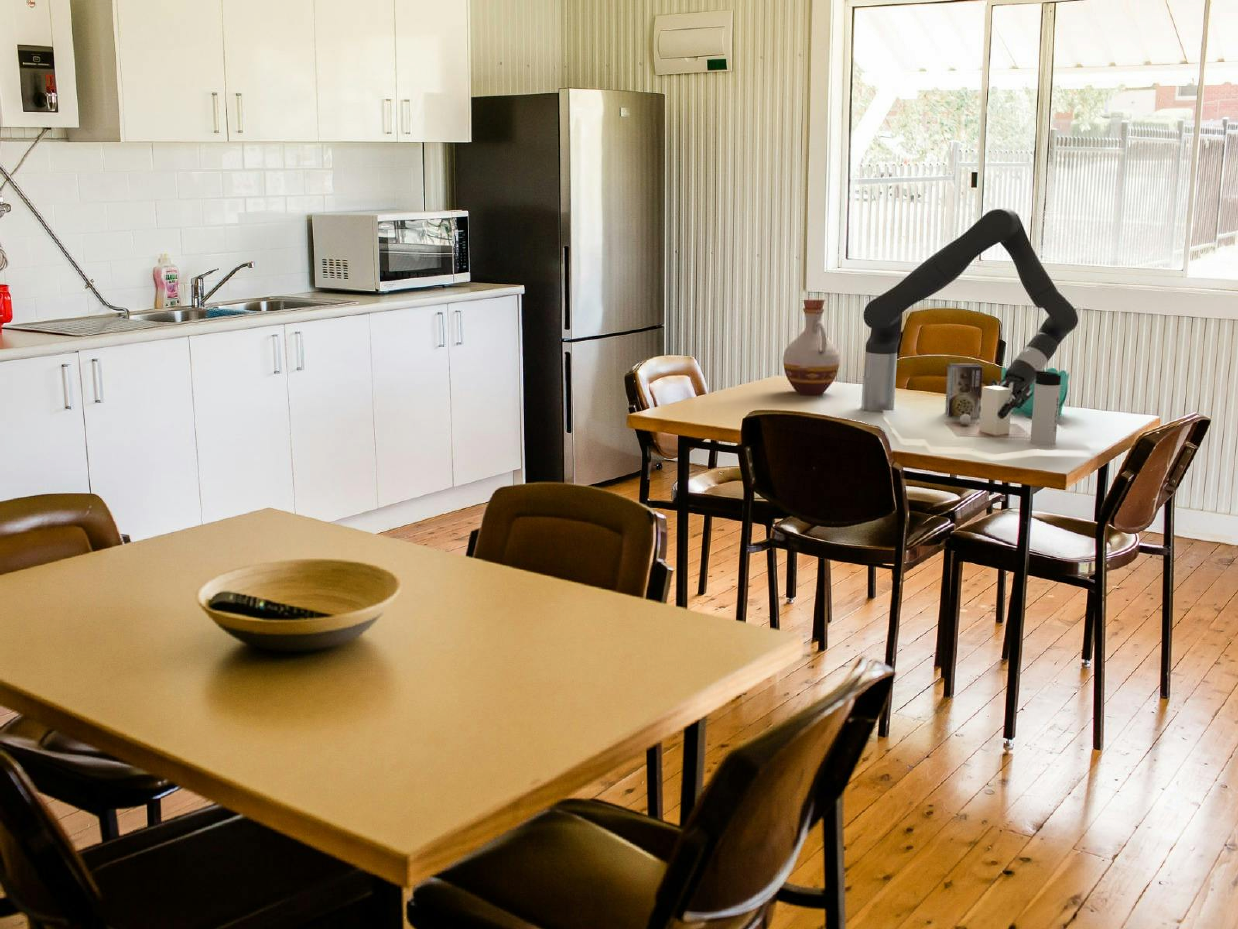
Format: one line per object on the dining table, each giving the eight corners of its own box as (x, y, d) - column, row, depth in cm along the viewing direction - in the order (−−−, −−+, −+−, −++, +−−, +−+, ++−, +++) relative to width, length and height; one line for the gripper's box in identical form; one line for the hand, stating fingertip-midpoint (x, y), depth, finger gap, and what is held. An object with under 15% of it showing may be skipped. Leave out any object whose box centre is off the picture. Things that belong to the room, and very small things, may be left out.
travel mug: (1024, 444, 340) (1031, 368, 335) (1049, 444, 340) (1055, 368, 336) (1034, 449, 334) (1040, 372, 329) (1059, 449, 334) (1065, 372, 330)
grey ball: (960, 425, 356) (961, 415, 355) (958, 423, 359) (959, 413, 358) (971, 426, 355) (972, 415, 355) (969, 424, 358) (970, 413, 358)
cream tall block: (992, 429, 352) (996, 385, 349) (1009, 433, 346) (1012, 388, 344) (979, 430, 349) (982, 386, 346) (995, 434, 344) (998, 390, 341)
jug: (849, 398, 405) (854, 301, 398) (795, 400, 401) (799, 302, 394) (825, 388, 424) (829, 295, 417) (773, 389, 420) (777, 296, 413)
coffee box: (976, 418, 374) (980, 363, 371) (979, 422, 368) (984, 366, 365) (943, 417, 375) (947, 362, 372) (947, 422, 369) (951, 365, 365)
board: (956, 441, 342) (957, 436, 342) (943, 427, 362) (944, 421, 361) (1034, 443, 341) (1034, 438, 340) (1016, 428, 360) (1017, 423, 360)
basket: (1063, 409, 390) (1067, 367, 387) (1068, 420, 373) (1072, 376, 370) (997, 406, 395) (1000, 364, 392) (999, 417, 378) (1002, 373, 375)
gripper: (1000, 355, 353) (964, 401, 350) (1040, 362, 341) (1004, 410, 338) (1013, 373, 357) (977, 419, 354) (1053, 380, 345) (1017, 428, 342)
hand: (990, 414), depth 346 cm, fingers closed on cream tall block, 6 cm apart
